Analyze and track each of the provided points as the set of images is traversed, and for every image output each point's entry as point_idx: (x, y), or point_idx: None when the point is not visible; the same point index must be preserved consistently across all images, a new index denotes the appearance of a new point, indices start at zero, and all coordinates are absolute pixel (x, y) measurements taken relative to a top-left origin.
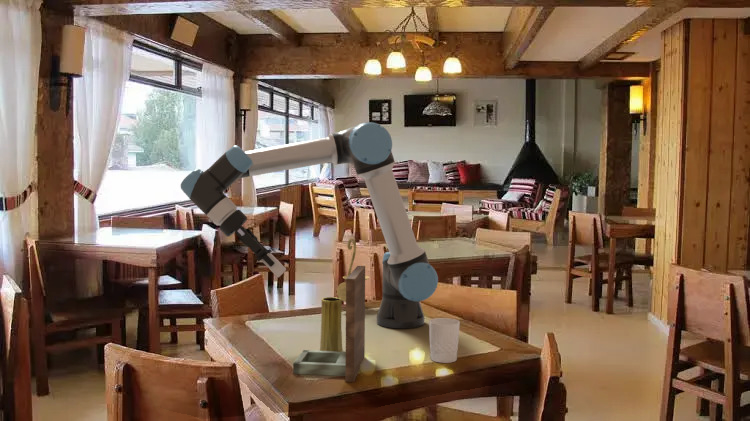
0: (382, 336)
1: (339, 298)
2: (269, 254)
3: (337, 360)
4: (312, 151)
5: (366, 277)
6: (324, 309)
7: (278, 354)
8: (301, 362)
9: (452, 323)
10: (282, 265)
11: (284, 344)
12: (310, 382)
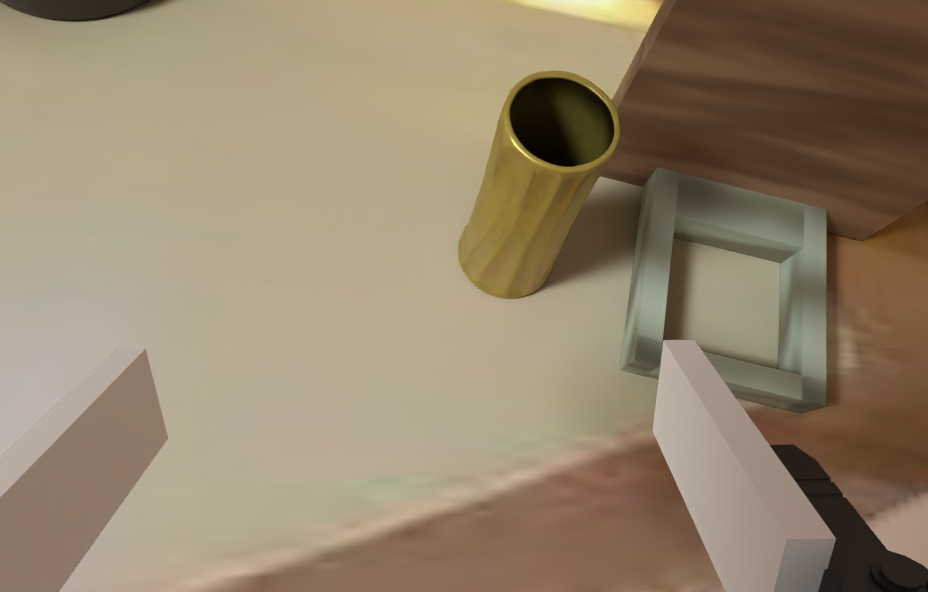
0: (295, 42)
1: (539, 76)
2: (815, 518)
3: (770, 238)
4: None
5: None
6: (586, 188)
7: (538, 481)
8: (809, 372)
9: None
10: (114, 383)
11: (367, 456)
12: (883, 353)
